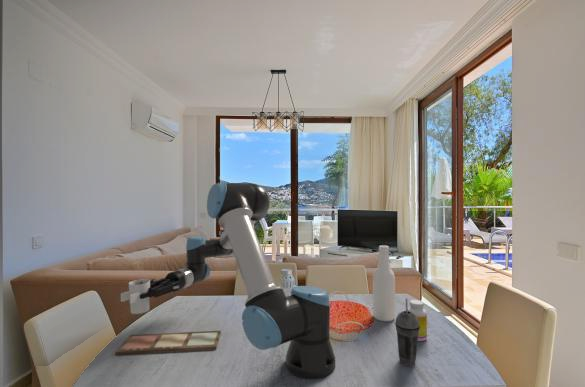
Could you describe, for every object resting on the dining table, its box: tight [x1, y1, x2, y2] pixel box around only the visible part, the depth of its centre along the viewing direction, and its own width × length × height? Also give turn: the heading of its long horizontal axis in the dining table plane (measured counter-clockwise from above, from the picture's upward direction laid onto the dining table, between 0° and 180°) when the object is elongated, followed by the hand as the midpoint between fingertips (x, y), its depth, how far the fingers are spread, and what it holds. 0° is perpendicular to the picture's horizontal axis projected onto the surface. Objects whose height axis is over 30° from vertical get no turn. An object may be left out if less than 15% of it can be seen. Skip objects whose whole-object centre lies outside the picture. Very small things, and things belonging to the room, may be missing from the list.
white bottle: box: [372, 244, 396, 323], centre depth 129 cm, size 9×9×30 cm
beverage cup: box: [394, 298, 420, 367], centre depth 96 cm, size 7×7×20 cm
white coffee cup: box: [128, 278, 151, 315], centre depth 107 cm, size 7×7×10 cm
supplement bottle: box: [408, 299, 428, 342], centre depth 112 cm, size 7×7×13 cm
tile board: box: [115, 330, 222, 356], centre depth 108 cm, size 12×32×1 cm, turn 96°
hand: (126, 298), depth 102 cm, fingers closed on white coffee cup, 3 cm apart
